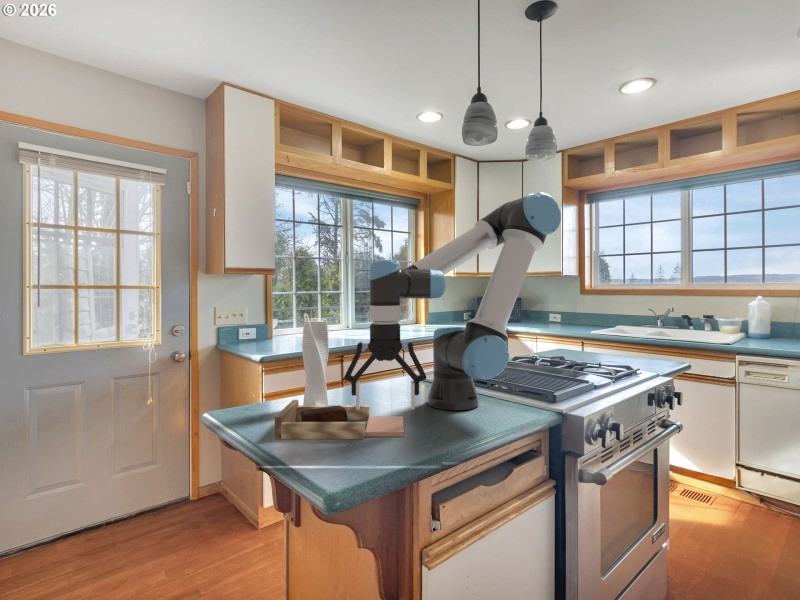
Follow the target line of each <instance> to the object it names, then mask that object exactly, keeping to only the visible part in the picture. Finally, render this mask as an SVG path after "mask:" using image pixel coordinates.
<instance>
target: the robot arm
mask: <svg viewBox="0 0 800 600" xmlns="http://www.w3.org/2000/svg"><path fill="white" fill-rule="evenodd" d="M561 221H562V213H561V209H560V208H559V204H558V203H557V201H556V199H555V198H554V197H553V196H551V195H550V194H548V193H545V192H535V193H530V194H529V193H528V194H527V195H526V196H523V197H520V198H518V199H514V200H510V201H508V202H506V203H503V204H502V205H500V206H498V207H497V208H495V209H494V210H492V211H491V212H490V213H488V214H487V215H486V216H484V217H482V218H480V219H479V220H477V221H476V222H475V224H474V227H472V228H470V229H469V230H467V231H466V232H464V233H463V234H460V235H459V236H457V237H455V238H454V239H452V240H451V241H449V242H447V243H445V244H444V245H443V246H440V247H439V248H437V249H436V250H434V251H433V252H431V253H429V254H427V255H426V256H424V257H422V258H420V259H419V260H417V261H416V262H413V263H412V264H411V265H408V266H407V267H405V268H402V267H401V264H400V261H399V260H394V259H393V260H392V259H378V260H374V261H372V262H371V264H370V265H369V279H368V281H369V321H370V322H371V323H370V325H369V342H368V343H367V342H362V341H359V342H358V343H357V344H356V352H355V354H354V356H353V358H352V360H351V361H350V365H349V366H348V368H347V371H346V372H345V375H344V377H343V380H344V381H348V382H349V383H350V384H351V395H352V396H353V397H354V396H355V405H356V410H359V409H360V405H361V381H360V380H359V379H360V378H361V376H362V375H363V374H364V373H365V372H366V370H367V369H368V368H369V367H371V364H372V363H373V362H374V361H375V360H377V361H378V362H383V361H387V362H392V361H394V360H395V361H396V362H397V363H398V364H399V365H400V366H401V367H402V369H403V370H404V371H405V372H406V373H407V375H408V376H409V377H410V378H411V383H410V388H411V389H410V398H411V402H410V403H411V405H410V406H411V407H410V408H411V409H410V410H411V411H413V410H415V409H416V405H415V404H416V403H415V399H416V398H415V396H419V395H420V382H422V381H425V380H427V375H426V372H425V370H424V369H423V367H422V364H421V363H420V361H419V359H418V357H417V355H416V353H415V350H414V345H413V342H412V341H409V342H403V343H402V341H401V324H400V323H399V322H400V321H401V300H403V299H404V300H406V299H410V300H411V299H412V300H413V299H415V300H416V299H417V300H418V299H419V300H420V299H429V300H433V299H440V298H441V297H443V296H444V294H445V291H446V285H447V283H446V282H447V281H446V277H445V275H446V274H448V273H450V272H452V271H453V270H455V269H456V268H458V267H460V266H461V265H463V264H465V263H466V262H467V261H469V260H471V259H472V258H473V257H476V256H477V255H478V254H481V252H483V251H485V250H487V249H488V250H489V249H490V250H492V249H493V250H494V249H495V248H496V247H497V246H499V245H502V244H503V245H502V248H501V251H500V253H499V255H498V259H497V261H496V264H495V266H494V269H493V272H492V274H491V276H490V278H489V281H488V284H487V287H486V288H485V291H484V295H483V297H482V299H481V301H480V303H479V307H478V310H477V312H476V314H475V316H474V318H471V319H469V320H467V321H466V324H465V326H450V327H440V328H439V327H438V328H436V329H435V330H434V331H433V339H432V343H433V344H432V346H433V347H432V349H433V350H432V352H433V355H432V356H433V360H432V361H433V378H432V382H431V385H430V388H429V391H428V394H427V405H428V406H429V407H432V408H434V409H437V410H438V409H439V410H445V411H468V410H473V409H476V408H477V407H478V406H479V395H478V394H479V393H478V391H477V388H476V386H475V385H476V384H475V381H474V379H478V380H479V379H481V380H491V379H493V378H496V377H497V376H499V375H500V374H502V372H503V371H504V370H505V369H506V367H507V365H508V363H509V359H510V351H509V346H508V344H507V341H508V339H509V336H508V333H507V331H506V327H507V324H508V323H509V319H510V317H511V314H512V311H513V310H514V307H515V305H516V304H515V303H516V301H517V299H518V296H519V294H520V291H521V288H522V285H523V283H524V281H525V277H526V275H527V272H528V270H529V267H530V265H531V261H532V259H533V257H534V254H535V252H536V251H538V250H540V249H542V248H543V247H544V243H545V241H546V239H547V236H548V235H551V234H553V233H554V232H556V231H557V230H558V229H559V227H560V225H561ZM366 349H368V351H369V352H370V353H371V355H370V356H369V357H368V359H367V360H366V361H365V362H364V363H363V365H362V366H361V367H360V368H359V369H358V370H357V372H355V374H354V375H352V373H353V371H354V369H355V367H356V365H357V363H358V362H359V359H360V358H361V355H362V353H364V352H365V351H366ZM402 350H405V352H408V353H409V356H410V357H411V359H412V363H413V364H414V366H415V368H416V370H417V372H418V375H417V373H415V371H414V370H413V369H412V368H411V366H410V365H409V364H408V363H407V362H406V360H404V358H403V357H402V356H401V355H400V352H401V351H402Z"/></svg>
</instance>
